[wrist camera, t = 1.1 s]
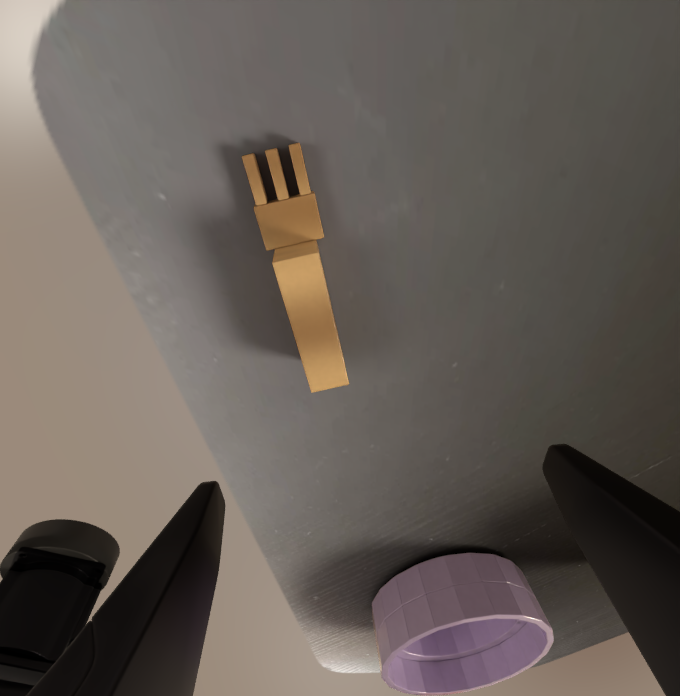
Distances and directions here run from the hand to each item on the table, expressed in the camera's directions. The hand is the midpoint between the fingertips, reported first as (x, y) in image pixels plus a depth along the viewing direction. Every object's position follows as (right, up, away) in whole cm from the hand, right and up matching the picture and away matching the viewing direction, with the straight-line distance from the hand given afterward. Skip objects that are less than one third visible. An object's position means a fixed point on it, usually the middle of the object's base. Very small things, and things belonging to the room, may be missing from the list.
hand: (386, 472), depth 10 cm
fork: (-3, +7, +9) cm, 12 cm away
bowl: (+9, -21, +26) cm, 35 cm away
